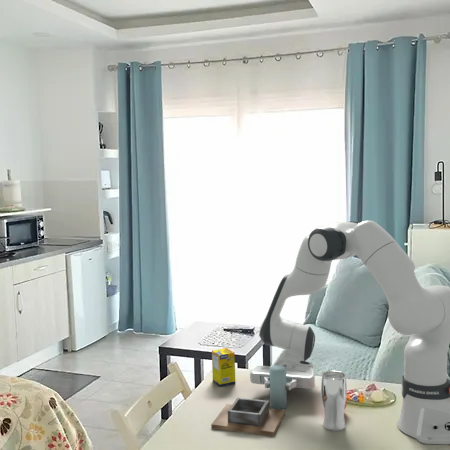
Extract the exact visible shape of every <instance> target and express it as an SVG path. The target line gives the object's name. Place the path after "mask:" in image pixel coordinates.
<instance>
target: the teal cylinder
mask: <svg viewBox="0 0 450 450" xmlns="http://www.w3.org/2000/svg"><path fill="white" fill-rule="evenodd" d="M287 399H288V398H287V390H286V367H284V366H281V365H274V364H273V365H272V366H271V367H270V388H269V408H270V409H277V410H285V409H286V408H287V403H288V401H287Z"/></svg>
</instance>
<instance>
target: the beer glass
mask: <svg viewBox="0 0 450 450" xmlns="http://www.w3.org/2000/svg"><path fill="white" fill-rule="evenodd" d="M347 384H348V383H347V374H346V373H345V372H344V371H340V370H332V369H331V370H325V371H324V372H322V374H321V387H320V388H321V389H320V390H321V391H320V392H321V398H322V399H321V400H322V404H323V410H324V419H323V424H322V425H323V428H324V429H326V430H328V431H332V432H340V431H343V430H344V429H346V421H345V410H344V408H345V402H346V401H347V395H348V393H347V392H348V389H347V388H348V387H347ZM345 409H346V408H345Z"/></svg>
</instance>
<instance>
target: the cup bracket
mask: <svg viewBox="0 0 450 450" xmlns="http://www.w3.org/2000/svg"><path fill="white" fill-rule="evenodd" d="M285 415H286V411H285V409H282V410H277V409H272V408H270V400H262V399H254V398H246V397H245V398H244V397H236V399H235V400H234V402H232V404H229V403H226V404H225V405H224V407H223V408H222V410H221V411H220V412H219V413H218V415H217V416H216V417H215V419H214V421H213V422H212V423H211V426H210V427H211V429H214V430H215V429H216V430H221V431H222V430H223V431H230V432H235V433H236V432H238V433H244V434H245V433H246V434H254V435H262V436H269V437H270V436H271V437H275V435H276V433H277V431H278V429H279V427H280V424H281V423H282V421H283V419H284V416H285Z"/></svg>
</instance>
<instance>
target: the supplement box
mask: <svg viewBox="0 0 450 450" xmlns="http://www.w3.org/2000/svg"><path fill="white" fill-rule="evenodd" d="M235 355H236V354H235V352H234V351H233V350H231V349H229V348H228V347H224V348H223V347H222V348H220V349H214V350H211V365H212V366H211V367H212V382H213V383H214V384H216V385H217V386H218V387H226V386H230V385H235V384H236V359H235Z"/></svg>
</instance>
